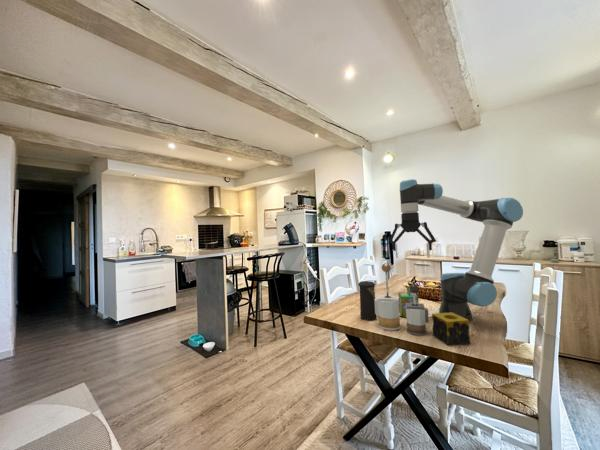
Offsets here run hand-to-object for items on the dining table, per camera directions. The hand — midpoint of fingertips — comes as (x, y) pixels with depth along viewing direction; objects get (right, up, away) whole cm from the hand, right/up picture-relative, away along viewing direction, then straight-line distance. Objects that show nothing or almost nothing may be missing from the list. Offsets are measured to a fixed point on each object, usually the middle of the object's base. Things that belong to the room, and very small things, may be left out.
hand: (412, 257), depth 116 cm
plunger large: (-9, -22, +8) cm, 24 cm away
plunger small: (+1, -29, -1) cm, 29 cm away
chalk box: (+8, -35, +21) cm, 42 cm away
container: (-15, -36, +19) cm, 44 cm away
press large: (-8, -35, +7) cm, 37 cm away
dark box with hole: (+12, -34, -10) cm, 38 cm away
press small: (+2, -35, -1) cm, 35 cm away
